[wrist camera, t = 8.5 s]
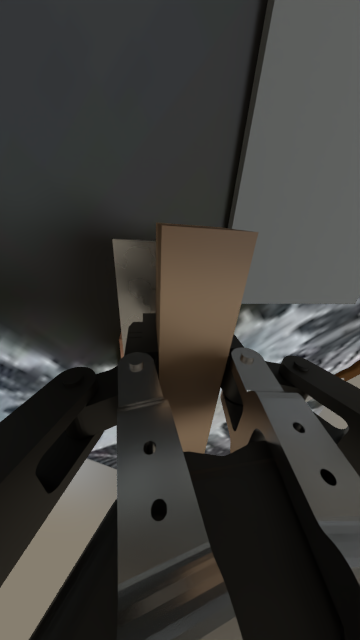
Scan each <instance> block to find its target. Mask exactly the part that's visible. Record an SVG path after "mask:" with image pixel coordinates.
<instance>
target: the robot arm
mask: <svg viewBox="0 0 360 640" xmlns="http://www.w3.org/2000/svg"><path fill="white" fill-rule="evenodd" d="M221 388H222V392H221V402H222V406H223V410H224V414H225V418H226V422H227V426H228V429H229V433H230V440H231V446H230V451H231V453H230V454H229V455H226V456H216V455H210V454H203V453H196V452H190V451H187V452H183V450H182V446H181V443H180V439H179V436H178V432H177V429H176V425H175V422H174V419H173V415H172V412H171V408H170V405H169V402H168V400H167V398H165V399H164V398H163V394H162V391H161V387H160V383H159V379H158V343H157V332H156V313H143V322H133V323H132V324H131V325H130V326H129V328H128V334H127V340H126V347H125V353H124V357H122V358H121V359H120V361H119V362H118V366H116V367H115V368H113V369H111V370H109V371H106V372H102V373H99V374H95V372H94V371H93V370H92V369H90V368H87V367H75V368H71V369H68V370H66V371H64V372H62V373H60V374H59V375H58V376H56V377H55V378H54V379H53V380H51V381H50V382H49V383H48V384H47V385H45V386H44V387H43V388H42V389H40V390H39V391H38V392H37V393H36V394H34V395H33V396H32V397H31V398H29V399H28V400H27V401H26V402H24V403H23V404H22V405H21V406H20V407H18V408H17V409H16V410H15V411H13V412H12V413H11V414H10V415H9V416H7V417H6V418H5V419H4V420H2V421H1V422H0V587H1V585H2V584H3V582H4V581H5V580H6V578H7V576H8V575H9V573H10V572H11V571H12V569H13V567H14V566H15V565H16V563H17V562H18V560H19V559H20V557H21V556H22V554H23V552H24V551H25V549H26V548H27V547H28V545H29V544H30V542H31V540H32V539H33V538H34V536H35V534H36V533H37V531H38V530H39V529H40V527H41V526H42V524H43V523H44V521H45V520H46V518H47V516H48V515H49V513H50V512H51V511H52V509H53V507H54V506H55V505H56V503H57V502H58V500H59V499H60V497H61V496H62V494H63V492H64V491H65V490H66V488H67V486H68V485H69V484H70V482H71V481H72V479H73V477H74V476H75V475H76V473H77V471H78V470H79V469H80V467H81V466H82V464H83V463H84V461H85V460H86V458H87V457H88V455H89V454H90V452H91V451H92V449H93V448H94V446H95V445H96V443H97V442H98V440H99V439H100V437H101V436H102V434H103V432H104V430H106V429H109V428H111V427H113V426H116V425H117V499H116V500H115V502H114V503H113V505H112V506H111V508H110V509H109V511H108V512H107V514H106V516H105V517H104V519H103V521H102V522H101V524H100V526H99V527H98V529H97V530H96V532H95V534H94V535H93V537H92V538H91V540H90V542H89V543H88V545H87V546H86V548H85V550H84V551H83V553H82V555H81V556H80V558H79V559H78V561H77V563H76V564H75V566H74V567H73V569H72V571H71V572H70V574H69V576H68V577H67V579H66V580H65V582H64V584H63V585H62V587H61V588H60V590H59V592H58V593H57V595H56V597H55V598H54V600H53V602H52V603H51V605H50V606H49V608H48V610H47V611H46V613H45V615H44V616H43V618H42V620H41V621H40V623H39V624H38V626H37V628H36V629H35V631H34V632H33V634H32V635H31V637H30V639H29V640H360V389H359V388H357V387H355V386H353V385H352V384H350V383H348V382H346V381H344V380H343V379H341V378H339V377H337V376H335V375H333V374H332V373H330V372H328V371H326V370H324V369H322V368H321V367H319V366H317V365H315V364H313V363H311V362H310V361H308V360H306V359H303V358H301V357H297V356H286V357H284V359H283V361H282V363H281V364H278V363H272V362H266V361H265V360H264V359H263V357H262V356H261V355H260V354H259V353H257V352H256V351H254V350H251V349H248V348H244V347H243V345H242V344H241V343H240V341H239V340H238V339H237V337H236V336H235V335H234V334H233V338H232V343H231V347H230V351H229V355H228V359H227V363H226V367H225V371H224V375H223V379H222V383H221ZM308 395H309V396H310V397H312V398H313V399H315V400H316V401H318V402H319V403H321V404H322V405H324V406H325V407H327V408H328V409H330V410H331V411H333V412H334V413H336V414H337V415H339V416H340V417H342V418H343V419H344V420H345V421H346V422H347V424H348V427H347V428H346V429H338V428H335V427H334V426H332V425H331V424H329V423H328V422H326V421H325V420H324V419H322V418H321V417H320V416H318V415H317V414H315V413H314V412H313V411H312V410H311V409H310V407H309V406H308V404H307V403H306V402H305V400H306V398H307V397H308Z"/></svg>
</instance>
